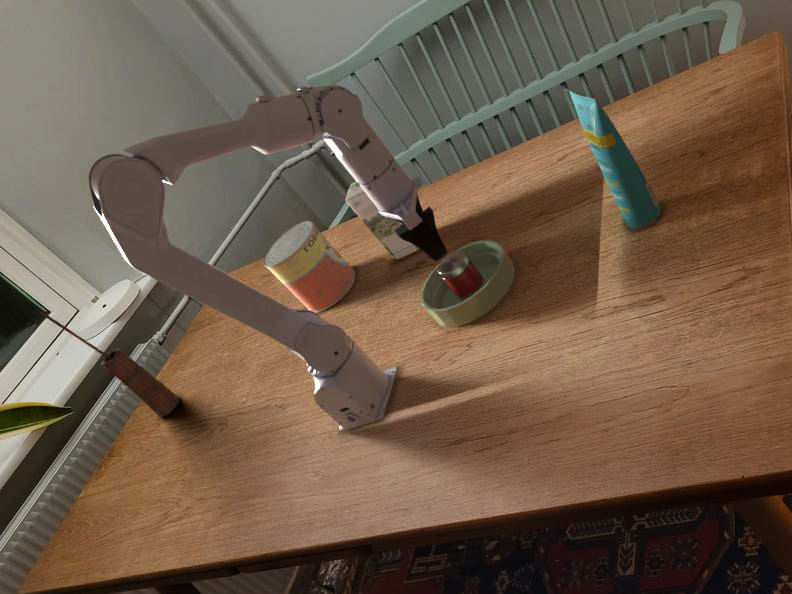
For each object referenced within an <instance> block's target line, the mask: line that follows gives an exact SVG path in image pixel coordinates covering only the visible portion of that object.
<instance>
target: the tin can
mask: <svg viewBox="0 0 792 594" xmlns="http://www.w3.org/2000/svg"><path fill="white" fill-rule="evenodd" d="M439 263H440V264H439ZM439 263H438V264H439V266H438V265H437V266H438V272H439V273H440V275H441V276H442V278H443V279H444V280H445V281H446V283H447V284H448V285H449V286H450V288H451V289H452V290H453V292H454V293H455V294H456V295H457V296H458V298H459V299H460V300H461V301H462V302H463V301H465V300H466V299H468V298H470V297H471V296H473V295H474V294H475V293H476V292H478V291H479V290H480V289H481V288H482V287H483V286H484V285H485V284H486V281H485V280H484V278H483V277H482V275H481V274H480V272H479V271H478V270H477V268H476V267H475V266H474V264H473V263H472V262H471V260H470V259H469V258H468V257H467V255H466V254H465V253H464V252H463V251H461V250H459V251H456V250H455V251H452V252H450V253H449V254H446V255H445V256H444V257H443V258H442V260H441V261H440V262H439Z"/></svg>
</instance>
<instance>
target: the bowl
mask: <svg viewBox="0 0 792 594" xmlns="http://www.w3.org/2000/svg"><path fill="white" fill-rule="evenodd" d="M459 250H461V251H463V252H464V253H465V254H466V255H467V257H468V258H469V259H470V260H471V262H472V263H473V264H474V266H475V267H476V268H477V270H478V271H479V272H480V274H481V275H482V277H483V278H484V280H485V281H486V284H485V285H484V286H483V287H482V288H481V289H480V290H479V291H478V292H476V293H475V294H474V295H473V296H471V297H470V298H468V299H466V300H465V301H463V302H462V301H461V300H460V299H459V298H458V296H457V295H456V294H455V293H454V292H453V290H452V289H451V288H450V286H449V285H448V284H447V283H446V281H445V280H444V279H443V278H442V276H441V275H440V273H439V272H438V266H439V264H440V262H439V263H438V264H437V265H436V267H435V268H434V269H433V270H432V271H431V272H430V273H429V275H428V277H427V278H426V280H425V282H424V283H423V284H422V288H421V292H420V303H421V305H422V306H423V307H424V309H425V310H426V312H428V313H429V315H430V316H431V317H432V318H433V319H434V320H435V322H436V323H437V324H438V325H440V326H442V327H446V328H456V327H459V328H460V327H462V326H465V325H468V324H471V323H473V322H475V321H476V320H479V319H480V318H482V317H484V316H486V315H487V314H488V313H489V312H490V311H492V310H493V309H494V308H495V307H497V306H498V304H499V303H500V302H501V301H502V300H503V299H504V298H505V296H506V295H507V294H508V292H509V291H510V289H511V287H512V286H513V283H514V281H515V275H516V267H515V263H514V261H512V259H511V257H510V256H509V254H508V253H507V251H506V250H505V249H504V247H503V246H502V245H501V244H500V243H498V241H495V240H491V239H483V240H477V241H473V242H470V243H468V244H466V245H463V246H461V247H459V248H458V249H456V250H455V251H459Z"/></svg>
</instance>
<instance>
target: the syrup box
mask: <svg viewBox="0 0 792 594" xmlns="http://www.w3.org/2000/svg"><path fill="white" fill-rule="evenodd" d="M345 202H346V203H347V205H348V206H349V207H350V208H351V210H352V211H353V212H354V213H355V214H356V215H357V217H358V218H359V219H360V220H361V221H362V223H363V224H364V225H365V226H366V227H367V228H368V230H369V231H370V233H372V234H373V236H374V237H375V238H376V239H377V241H378V242H379V243H380V244H381V245H382V246H383V248H384V249H385V250H386V251H387V252H388V254H389V255H390V256H391V257H392V258H393V260H395V261H397V260H399V259H401V258H404V257H406V256H408V255H410V254H412V253H415V252H416V251H418V250H420V249H419V248H418V247H417V246H415V245H413V244H412V243H410V242H407V241H404V240H402V239H400V238H399V237H398V236H397V234H396V233H395V231H394V230H396V229H397V228H398V227H399V226H401V225H402V223H401V222H399V221H398V220H396V219H394V218H390V217H385V216H382V215H381V214H380V212H379V211H378V208H377V206H376V205H375V204H374V203H373V201H372V200H371V199H370V198H369V196H368V195H367V194H366V193H365V191H364V190H363V189H362V188H361V186H360V185H359V184H358V183H357V181H356V180H355V181H353V182H351V184H350V186H349V188H348V190H347V192H346V197H345Z"/></svg>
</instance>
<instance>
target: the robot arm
mask: <svg viewBox="0 0 792 594" xmlns="http://www.w3.org/2000/svg"><path fill="white" fill-rule="evenodd" d="M296 91H297V92H294V93H289V94H286V95H282V96H277V97H273V98H271V95H270V94H262V95H257V96H255V101H256V102H252V103H249V104H248V105H247V106H246V108H245V109H244V112H243V114H242V115H241V117H240V118H239V119H235V120H230V121H226V122H225V121H224V122H220V123H217V124H216V123H215V124H212V125H206V126H202V127H197V128H193V129H189V130H188V129H187V130H183V131H179V132H173V133H169V134H165V135H160V136H156V137H153V138H150V139H147V140H144V141H142V142H139V143H136V144H132V145H131V146H128V147H126V148H124V149H121V150H122V152H125V153H129V154H131V155H132V156H129V155H127V154H122V153H110V154H106V155H103V156H101V157H99V158H98V159H97V160H96V161H94V163H93V164H92V165H91V167H90V169H89V172H88V178H87V182H88V189H89V191H90V193H89V194H90V199H91V202H92V207H93V209H94V211H95V212H96V214H97V215H98V216H99V218H100V220H101V221H102V224H103V225H104V226H105V228H106V230H107V231H108V233H109V235H110V237H111V239H112V240H113V242H114V243H115V245H116V246H117V248H118V250H119V252H120V253H121V255H122V257H123V258H124V260H125V261H126V262H127V263H128V264H129V266H131V267H132V268H133V269H134V270H135V271H137V272H139V273H141V274H143V275H145V276H147V277H149V278H151V279H153V280H155V281H157V282H159V283H161V284H163V285H165V286H167V287H169V288H171V289H173V290H175V291H177V292H179V293H181V294H183V295H185V296H187V297H189V298H191V299H193V300H195V301H197V302H199V303H201V304H203V305H205V306H207V307H210V308H211V309H213V310H215V311H217V312H219V313H221V314H224V315H225V316H227V317H228V318H231V319H233V320H235V321H237V322H239V323H241V324H244V325H245V326H247V327H249V328H251V329H253V330H254V331H255V330H256V331H257V332H259V333H262V335H263V334H264V336H268V337H269V338H271V339H273V340H275V341H276V342H278V343H279V344H281V345H283V346H284V347H285V348H286V349H287V350H288V351H289V352H291V353H293V354H295V356H297V357H299V359H301V360H302V361H304V362H305V363H306V365H307V368H308V369H307V370H308V373H309V374H310V375H311V376H312V377H313V380H314V385H315V387H314V395H313V396H314V397H313V398H314V401H315V404H317V406H318V407H319V408H320V409H321V410H322V411H324V412H325V413H326V414H327V415H328V416H329V417H330V418H331V419H333V420H334V422H336V423H337V424H338V425H339V431H341V432H344V431H345V432H346V431H348V430H351V429H355V428H358V427H362V426H365V425H369V424H372V423H376V422H379V421H382V420H384V419H385V417H386V414H385V411H386V408H387V405H388V402H389V398H390V395H391V391H392V388H393V384H394V381H395V379H396V375H397V371H398V367H397V366H394V367H390V368H387V369H384V370H383V369H382V368H381V367H379V365H378V364H377V363H376V362H374V360H373V359H372V358H371V357H370V356H369V355H368V354H367V353H366V352H365V351H364V350H363V348H361V347H360V346H359V345H358V344H357V342H355V340H353V338H351V337H350V335H348V333H346V331H345V330H344V329H343V328H342V327H340V326H338V325H336V324H334V323H331V322H330V321H327V320H326V319H325V318H323V317H321V316H320V315H319V314H318V313H315V312H313V311H310V310H308V309H296V308H293V307H291V306H289V305H287V304H285V303H283V302H281V301H279V300H278V299H275V298H273V297H271V296H269V294H266V293H264V292H263V291H260V290H259V289H256V288H255V287H253V286H251V285H249V284H248V283H246V282H243V281H242V280H240V279H238V278H237V277H234V276H233V275H231V274H229V273H227V272H225V271H224V270H222V269H220V268H218V267H216V266H214V265H212V264H211V263H208V262H207V261H205V260H203V259H201V258H199V257H197V256H195V255H194V254H192V253H190V252H188V251H186V250H185V249H183V248H181V247H179V246H177V245H176V244H173V243H172V242H170V238H169V234H168V231H167V228H166V223H165V220H164V209H165V200H166V189H165V188H166V187H165V183H166V184H168V185H171V186H175V185H176V184H177V182H178V180H179V179H180V177H181V176H182V174H183V173H184V172H185V170H186V168H187V167H189V166H191V165H194V164H195V165H196V164H199V163H201V162H205V161H209V160H212V159H215V158H218V157H221V156H226V155H229V154H231V153H234V152H238V151H240V150H241V151H242V150H245V149H247V148H252V149H254V150H256V151H258V152H260V153H261V154H263V155H266V156H267V155H272V154H273V153H274V154H275V153H277V152H282V151H285V150H289V149H293V148H296V147H299V146H300V147H301V146H303V145H308V144H311V143H314V142H316V141H317V140H319V138H323V141H324V142H325V143H326V144H327V146H328V147H329V148H330V150H331V151H332V152H333V153H334V155H335V156H336V158H337V160H339V162H340V163H341V164H342V165H343V167H344V168H345V169H346V171H348V173H349V174H350V176H352V178H353V179H354V180H355V181H357V183H358V184H359V185H360V186H361V188H362V189H363V190H364V191H365V193H366V194H367V195H368V196H369V198H370V199H371V200H372V201H373V203H374V204H375V205H376V206H377V208H378V211H379V212H380V214H381V215H382V216H385V217H390V218H394V219H396V220H398V221H399V222H401V223H402V225H401V226H399V227H398V228H397V229H396V230H394V231H395V233H396V234H397V236H398V237H399V238H400V239H402V240H404V241H407V242H410V243H412V244H413V245H415V246H417V247H418V248H419V249H418V250H420V251H422V253H423V254H425V255H426V256H428V258H430V259H431V260H433V261H434V262H435V263H437V262H438V261H440V260H441V259H443V258H445V257H446V256H447V255H448V253H449V252H448V249H447V247H446V245H445V242H444V241H443V239H442V237H441V235H440V232H439V231H438V228H437V225H436V220H435V219H436V218H435V213H434V210H433V209H432V208H431V206H430V205H429V206H428V207H426V208H425V209H423V207H422V205H421V201H420V199H419V194H418V190H419V189H420V188H421V187H422V186H423V185H424V182H423V180H422V179H421V178H420V176H416V177H414V178H412V179H410V177H409V176H408V175H407V173H406V172H405V170H404V169H403V168H402V167H401V165H400V164H399V162H398V161H397V160H396V158H395V157H394V156H393V155H392V153H391V152H390V150H389V149H388V148H387V146H386V144H384V141H382V140H381V138H380V137H379V135H378V134H377V133H376V132H375V130H374V129H373V127H372V126H371V125H370V124H369V123H368V122H367V120H366V119H365V117H364V110H363V105H362V101H361V99H360V97H359V95H358V94H353V92H351V90H349V89H348V88H347V87H345V86H341V85H338V84H336V85H335V84H334V85H333V84H332V85H322V86H321V85H320V86H315V87H313V86H301V87H298V88H297V89H296Z"/></svg>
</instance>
